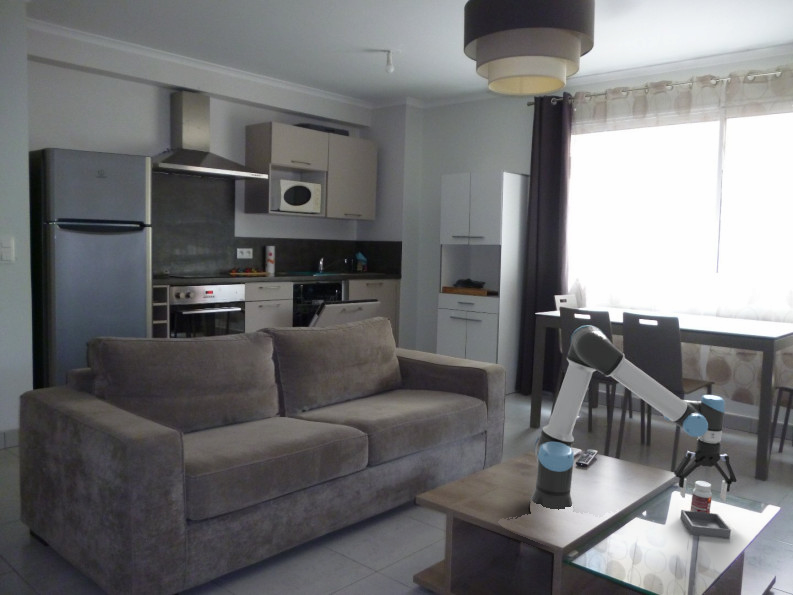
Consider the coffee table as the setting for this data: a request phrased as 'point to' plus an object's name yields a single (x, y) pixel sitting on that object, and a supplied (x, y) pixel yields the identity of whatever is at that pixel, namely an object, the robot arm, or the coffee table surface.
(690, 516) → the tray
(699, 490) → the pill bottle
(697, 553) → the coffee table surface
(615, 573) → the coffee table surface
